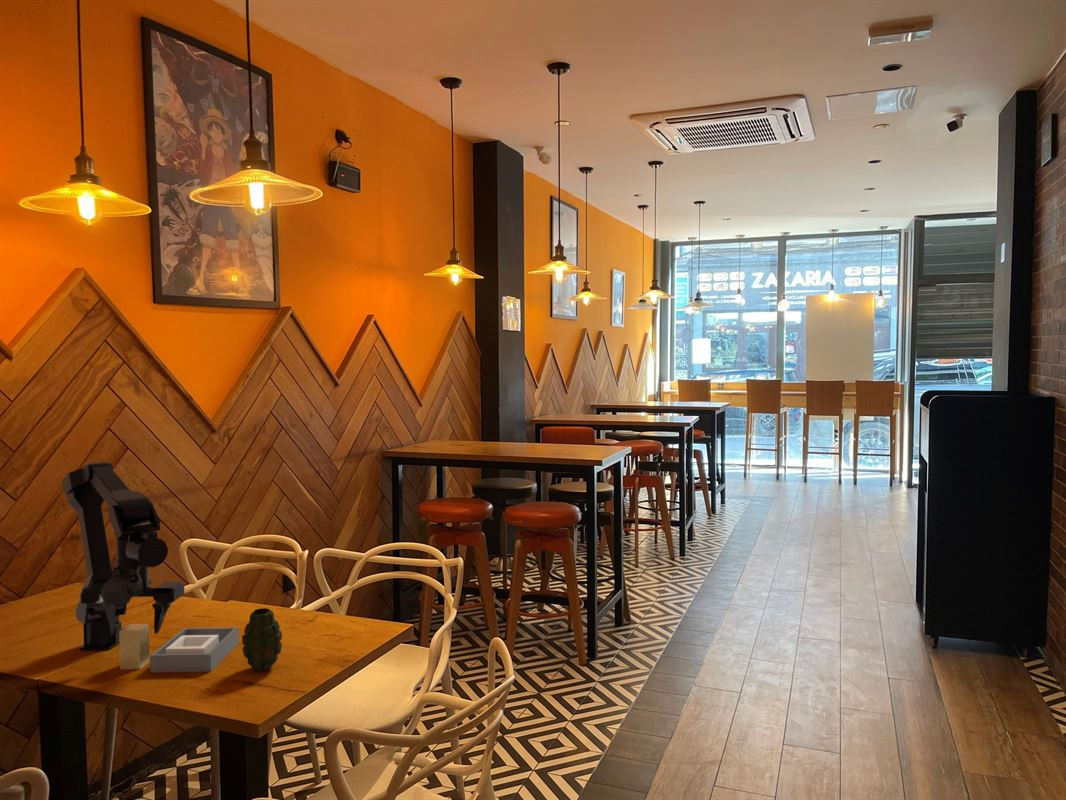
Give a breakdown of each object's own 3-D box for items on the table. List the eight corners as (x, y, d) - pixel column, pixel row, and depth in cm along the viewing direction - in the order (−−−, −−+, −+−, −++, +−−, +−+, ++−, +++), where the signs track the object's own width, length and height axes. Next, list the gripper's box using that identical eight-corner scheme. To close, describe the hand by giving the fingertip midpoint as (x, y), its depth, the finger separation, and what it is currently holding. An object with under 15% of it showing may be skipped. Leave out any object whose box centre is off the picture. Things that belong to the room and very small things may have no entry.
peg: (120, 669, 153) (119, 630, 152) (130, 661, 157) (129, 624, 156) (140, 669, 153) (139, 630, 153) (149, 661, 157) (148, 623, 157)
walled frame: (150, 672, 151) (150, 653, 151) (184, 643, 167) (184, 625, 167) (211, 671, 152) (210, 652, 151) (239, 642, 167) (238, 625, 167)
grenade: (251, 661, 157) (250, 604, 156) (288, 661, 157) (287, 604, 156) (235, 676, 149) (234, 616, 149) (274, 676, 149) (273, 617, 148)
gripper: (62, 569, 146) (64, 648, 146) (160, 568, 146) (162, 647, 147) (94, 555, 157) (95, 628, 157) (184, 554, 157) (186, 627, 158)
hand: (134, 633), depth 155 cm, fingers open, 9 cm apart
